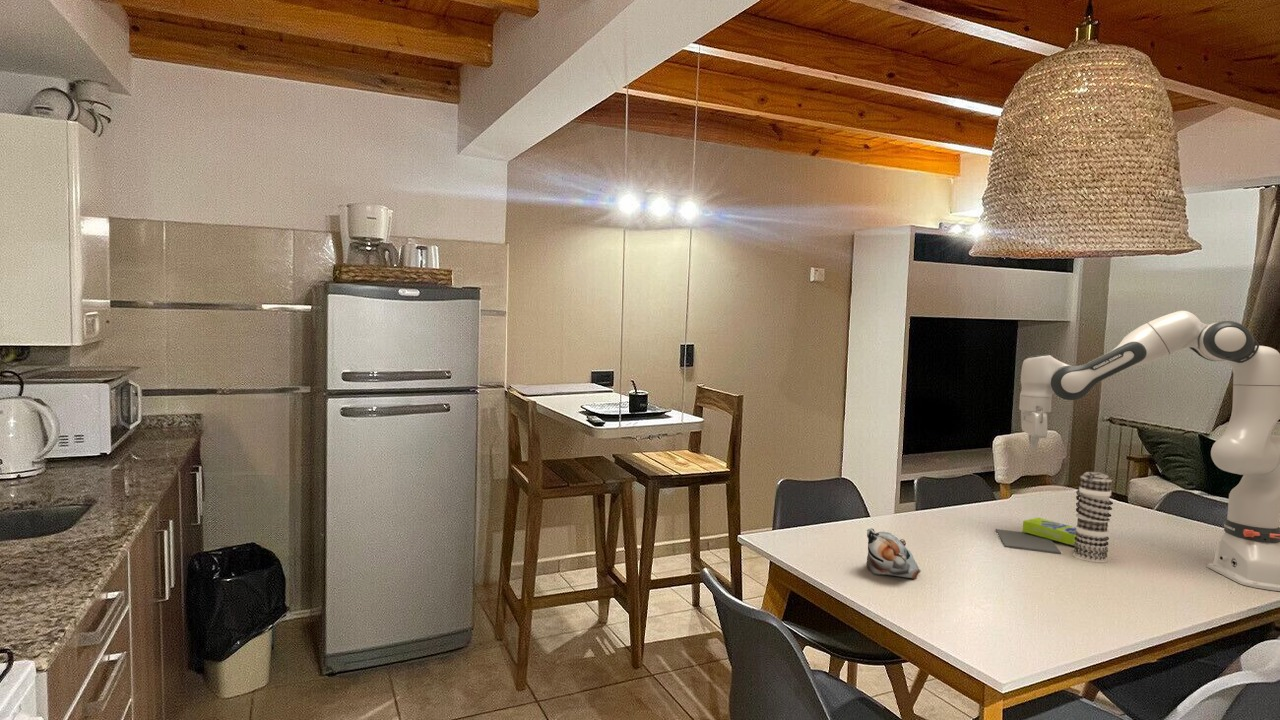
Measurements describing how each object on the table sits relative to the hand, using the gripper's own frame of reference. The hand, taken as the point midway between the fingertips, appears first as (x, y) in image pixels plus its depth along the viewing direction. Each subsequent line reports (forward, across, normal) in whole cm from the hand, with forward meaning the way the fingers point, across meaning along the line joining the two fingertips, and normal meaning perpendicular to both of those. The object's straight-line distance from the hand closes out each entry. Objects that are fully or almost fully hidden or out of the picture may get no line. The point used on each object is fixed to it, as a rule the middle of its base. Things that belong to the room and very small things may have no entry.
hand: (1033, 449), depth 227 cm
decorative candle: (+29, -14, -14) cm, 35 cm away
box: (+26, +8, -1) cm, 27 cm away
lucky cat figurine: (+29, -55, +42) cm, 75 cm away
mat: (+29, -5, +1) cm, 29 cm away
